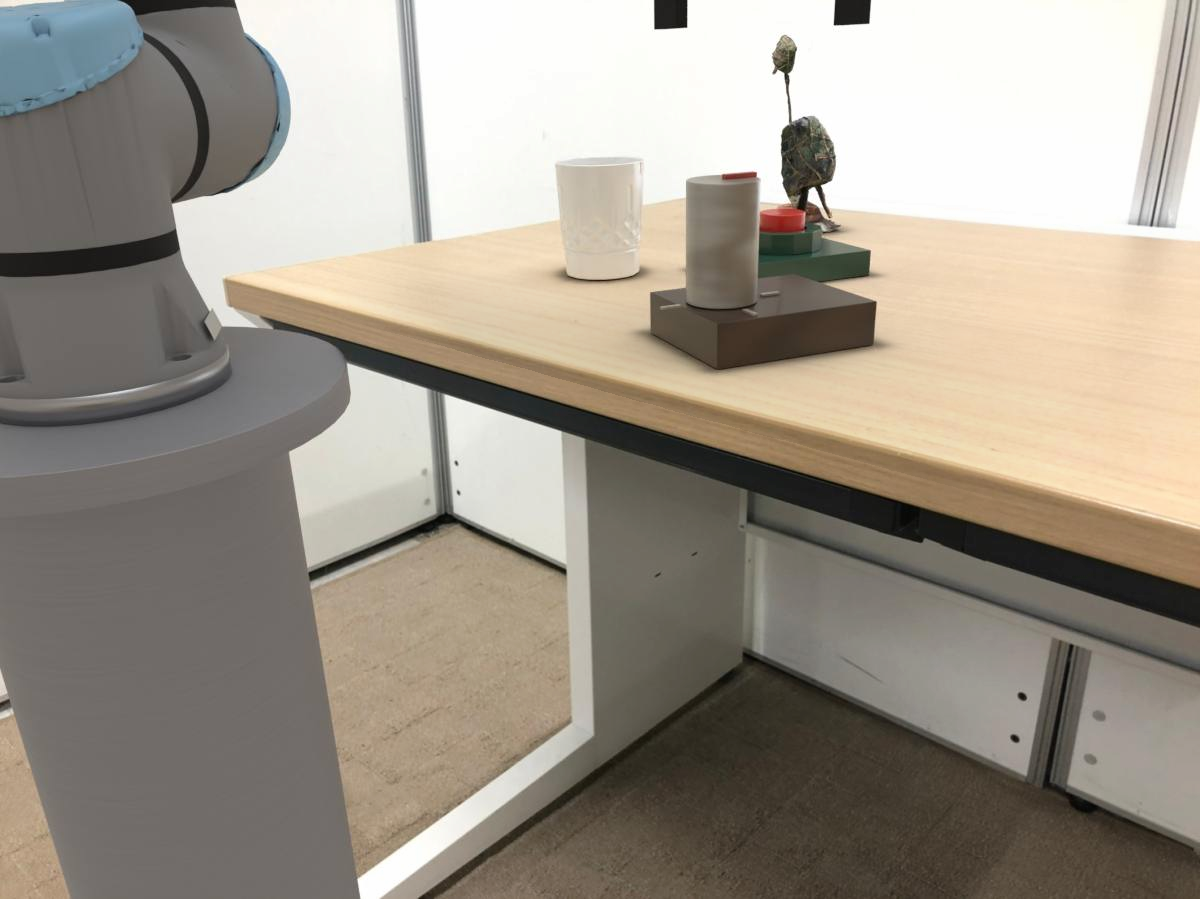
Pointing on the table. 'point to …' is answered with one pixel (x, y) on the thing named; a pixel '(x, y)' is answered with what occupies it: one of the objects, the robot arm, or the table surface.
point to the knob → (722, 240)
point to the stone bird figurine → (804, 151)
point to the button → (782, 220)
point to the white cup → (600, 215)
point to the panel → (766, 323)
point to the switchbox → (809, 256)
